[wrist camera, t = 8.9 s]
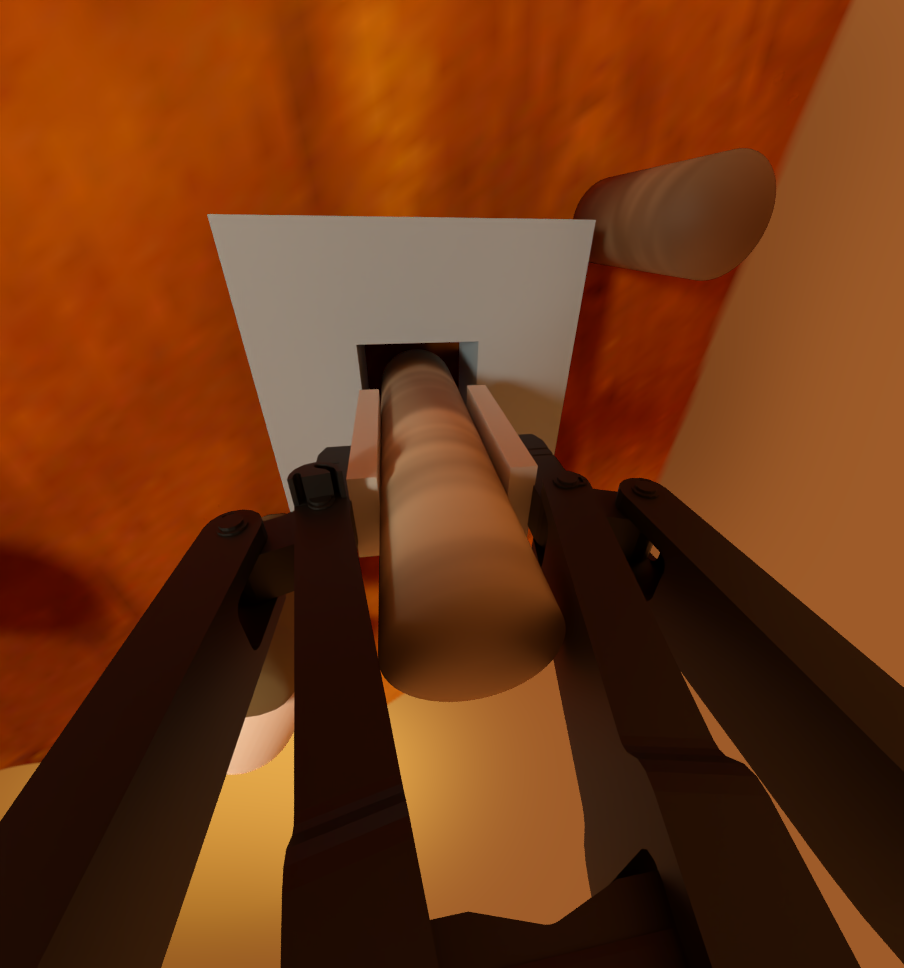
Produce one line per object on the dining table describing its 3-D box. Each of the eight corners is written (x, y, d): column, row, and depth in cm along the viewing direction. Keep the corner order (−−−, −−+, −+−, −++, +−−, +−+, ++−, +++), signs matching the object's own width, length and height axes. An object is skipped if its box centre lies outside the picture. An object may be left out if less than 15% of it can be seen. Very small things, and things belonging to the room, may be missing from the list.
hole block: (249, 217, 17) (207, 214, 13) (549, 221, 19) (595, 219, 15) (310, 480, 25) (296, 530, 21) (519, 465, 27) (544, 509, 23)
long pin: (377, 350, 18) (366, 598, 6) (452, 347, 19) (582, 574, 7) (384, 419, 20) (386, 712, 8) (451, 416, 21) (551, 688, 9)
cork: (328, 513, 27) (300, 661, 17) (333, 575, 30) (310, 727, 21) (233, 513, 25) (150, 671, 16) (248, 577, 29) (186, 739, 20)
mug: (336, 612, 32) (324, 711, 26) (302, 679, 37) (284, 777, 30) (173, 581, 28) (108, 690, 21) (156, 661, 32) (98, 771, 26)
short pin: (579, 175, 18) (691, 146, 12) (650, 177, 19) (796, 150, 12) (566, 263, 20) (655, 280, 14) (630, 263, 21) (746, 280, 14)
